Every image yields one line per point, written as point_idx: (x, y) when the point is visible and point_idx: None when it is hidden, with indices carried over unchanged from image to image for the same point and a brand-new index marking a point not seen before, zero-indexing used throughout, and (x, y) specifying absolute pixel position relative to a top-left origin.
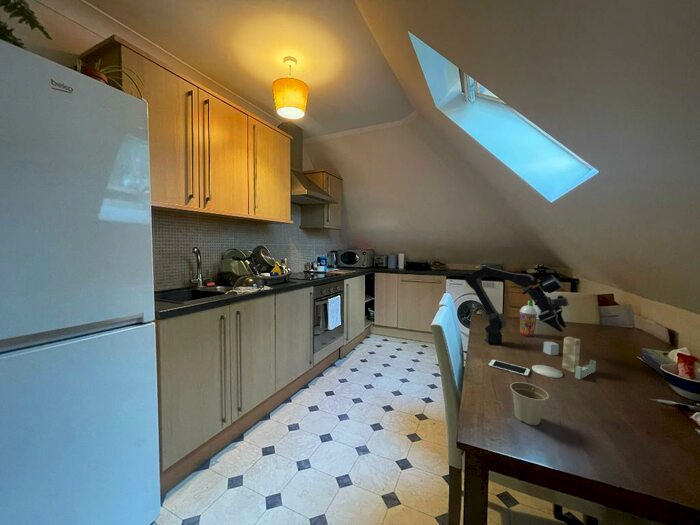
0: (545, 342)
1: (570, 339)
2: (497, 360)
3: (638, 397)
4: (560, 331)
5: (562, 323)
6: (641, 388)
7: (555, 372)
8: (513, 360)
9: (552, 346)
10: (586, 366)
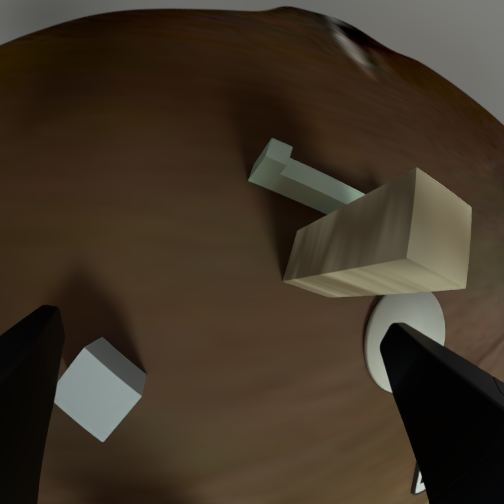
0: (110, 432)
1: (468, 241)
2: (417, 482)
3: (384, 97)
4: (394, 346)
5: (36, 378)
6: (308, 65)
7: (410, 309)
8: (371, 465)
9: (131, 383)
10: (335, 191)
